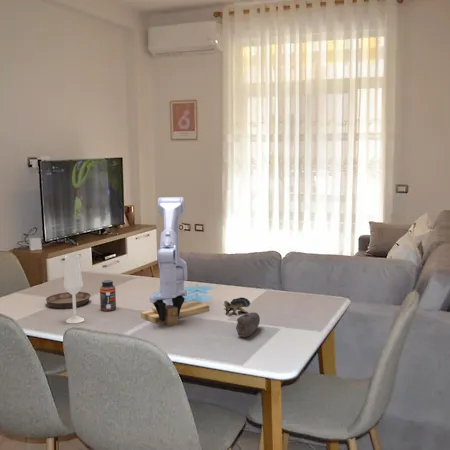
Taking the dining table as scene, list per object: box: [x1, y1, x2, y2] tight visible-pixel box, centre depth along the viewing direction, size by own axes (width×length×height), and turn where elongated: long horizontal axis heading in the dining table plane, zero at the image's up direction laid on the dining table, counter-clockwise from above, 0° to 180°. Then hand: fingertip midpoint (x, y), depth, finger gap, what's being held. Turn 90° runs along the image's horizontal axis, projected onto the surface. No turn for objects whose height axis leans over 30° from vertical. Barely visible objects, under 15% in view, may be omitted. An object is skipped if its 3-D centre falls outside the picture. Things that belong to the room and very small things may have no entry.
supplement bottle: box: [99, 279, 117, 312], centre depth 218 cm, size 6×6×11 cm
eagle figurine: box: [223, 297, 251, 317], centre depth 210 cm, size 8×7×9 cm
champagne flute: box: [63, 254, 85, 324], centre depth 203 cm, size 7×7×24 cm
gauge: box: [151, 305, 179, 327], centre depth 202 cm, size 14×4×6 cm, turn 39°
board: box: [140, 300, 210, 325], centre depth 211 cm, size 10×24×2 cm, turn 129°
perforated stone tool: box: [235, 312, 261, 338], centre depth 187 cm, size 15×5×7 cm, turn 152°
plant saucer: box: [45, 291, 92, 309], centre depth 228 cm, size 18×18×3 cm
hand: (169, 318), depth 200 cm, fingers open, 5 cm apart
